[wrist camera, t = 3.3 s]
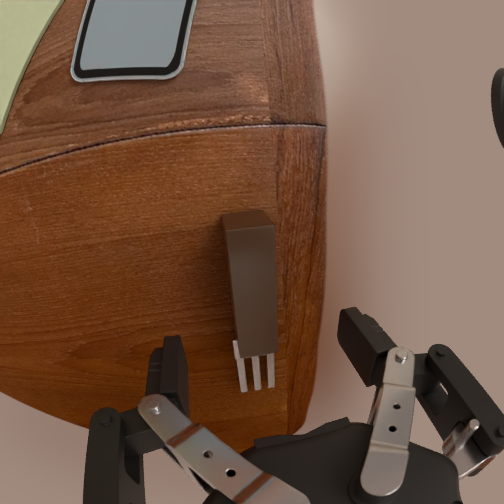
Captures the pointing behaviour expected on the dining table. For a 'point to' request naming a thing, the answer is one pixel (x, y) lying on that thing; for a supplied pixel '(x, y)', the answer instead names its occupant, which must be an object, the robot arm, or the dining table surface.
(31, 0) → the placemat
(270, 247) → the fork
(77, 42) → the smartphone
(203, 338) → the dining table surface
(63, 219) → the dining table surface
